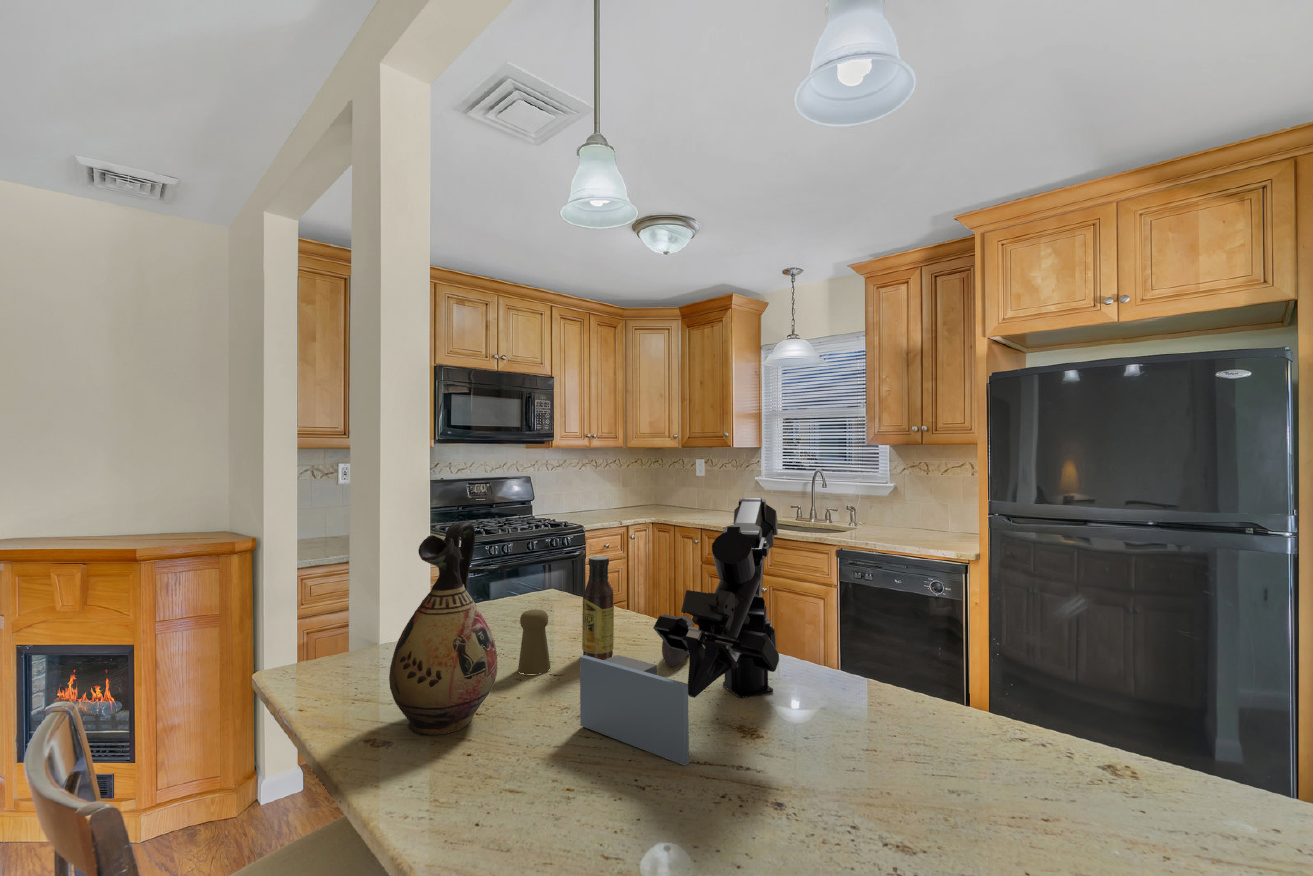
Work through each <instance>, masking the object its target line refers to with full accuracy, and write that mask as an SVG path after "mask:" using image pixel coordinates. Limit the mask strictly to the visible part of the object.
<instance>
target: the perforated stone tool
mask: <svg viewBox="0 0 1313 876" xmlns="http://www.w3.org/2000/svg"><path fill="white" fill-rule="evenodd" d="M679 617H681V618H683V620H684V621H685V622H686V624H687V625H688V626H690V627H694V622H693V621H692V618H691V617H689V616H688V615H687V616H686V615H680V616H679ZM661 655H662V659H663V661H664V663H665V664H666V665H667V667H674V666H677V665H679V664H680V663H682V661H684V660H685V659H686V658H687V657H688V656H689V650H687V651H681V650H676V649H672V648H670V647H669V646H667V644H666V643H665V642H664V641H663V640H662V645H661Z"/></svg>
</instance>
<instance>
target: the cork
mask: <svg viewBox="0 0 1313 876" xmlns="http://www.w3.org/2000/svg"><path fill="white" fill-rule="evenodd" d="M519 622H520V623H519V624H520V627H521V629H522V636H521V643H520V644H521V645H520V651H519V659H518V668H517V672H518V671H519V672H520V673H524V674H539V673H544V674H546V673H548V672H549V671H548V670H549V669H550V668H551V662H550V653H549V646H548V638H547V632H546V631H547V630H546V627H547V626H548V623H549V616H548V613H547V612H546V611H544V610H543V609H536V608H535V609H529V610H525V611H524V612H523V613H522V614H521V615H520V620H519ZM550 670H551V669H550ZM547 671H548V672H547ZM519 672H518V673H519ZM545 672H546V673H545ZM520 673H519V674H520ZM539 675H540V674H539Z"/></svg>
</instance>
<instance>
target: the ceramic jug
mask: <svg viewBox="0 0 1313 876" xmlns="http://www.w3.org/2000/svg"><path fill="white" fill-rule="evenodd" d="M475 530H476V529H475V526H474V524H472V523H471V522H470V521H467V520H461V521H459V522H453V523H452V524H451V525H449V527H448V529H447V530H446V533H445V537H444V539H442V538H441V537H440V536H439V537H438V536H437V535H435V534H433V535H432V534H431V535H428V536H427V537H426V538H425V539H423V541H422V542H421V543H420V545H419V546H418V550H417V551H418V556H419V557H420V559H421V560H422V561H424V562H425V563H428V564H430V565H433V566H435V567H437V568H438V577H437V579H436V581H435V582H434V584H433V585H432V586H431V589H430V591H429V592H428V594H427V595H426V596H425V597H424V599H422V601H421V603H420V604H419V606H418V607H417V608H416V609H415V611H414V613H413V614H412V615H411V617H410V618H409V620H408V622H407V624H406V625H404V626H405V627H404V629H403V630H402V632H401V634H400V636H399V638H398V640H397V643H396V645H395V647H394V648H395V649H394V651H393V656H392V658H391V664H390V667H389V676H388V677H389V679H388V680H389V681H388V682H389V689H390V691H391V692H390V693H391V695H392V698H393V701H394V703H395V704H396V705H397V708H399V710H400V711H401V713H402V714H403V715H404V716H405V718H406V719H407V720H408V722H409V723H408V724H407V727H408V728H409V729H410V730H411V732H412V733H414V734H416V735H420V736H422V737H423V736H428V735H435V736H436V735H437V736H438V735H446V734H445V733H447V734H449V733H448V732H451V733H454V732H453V731H455V732H457V731H459V730H458V729H460V730H462V729H463V728H465V727H466V726H468V724H469V723H470V724H471V723H472V721H473V720H474V717H475V714H476V712H477V710H478V709H479V708H480V707H481V705H482V704H483V702H484V701H485V700H486V699H487V697H488V695H490V693H491V691H492V689H493V687H494V685H495V682H496V677H497V674H498V653H497V647H496V643H495V642H496V641H495V638H494V635H493V633H492V630H491V628H490V626H489V624H488V622H487V620H486V618H485V617H484V615H483V613H482V612H481V610H480V609H479V607H478V605H477V603H476V602H474V601H475V600H473V598H472V596H471V595H470V594H469V592H468V591H467V590H468V578H469V572H470V566H471V564H472V560H473V557H474V556H473V555H474V551H475V545H476V531H475ZM472 719H473V720H472ZM470 724H469V725H470ZM461 728H462V729H461ZM456 730H457V731H456Z"/></svg>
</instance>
